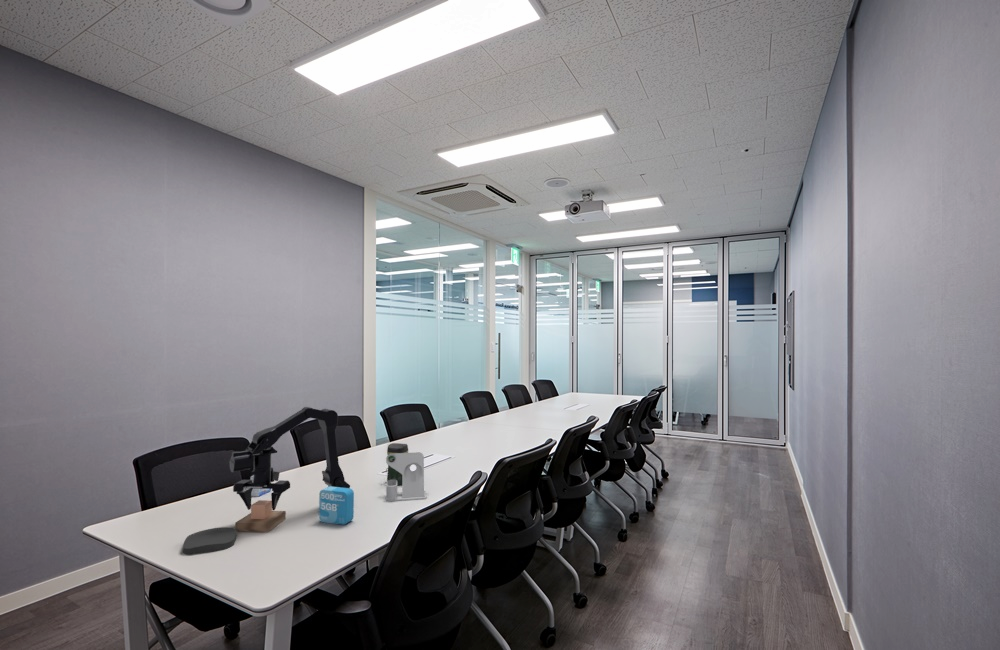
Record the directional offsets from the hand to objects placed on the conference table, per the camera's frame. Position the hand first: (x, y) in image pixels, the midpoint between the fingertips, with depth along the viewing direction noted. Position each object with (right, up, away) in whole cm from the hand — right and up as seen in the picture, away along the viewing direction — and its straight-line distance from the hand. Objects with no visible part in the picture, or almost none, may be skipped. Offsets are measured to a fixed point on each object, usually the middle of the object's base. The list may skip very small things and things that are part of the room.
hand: (261, 509), depth 172 cm
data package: (+26, -6, +3) cm, 27 cm away
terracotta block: (0, -3, 0) cm, 2 cm away
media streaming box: (-9, -6, -16) cm, 19 cm away
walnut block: (0, -6, 0) cm, 6 cm away
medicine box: (-18, -7, +35) cm, 40 cm away
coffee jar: (+39, -8, +51) cm, 64 cm away
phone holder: (+47, -7, +31) cm, 57 cm away
